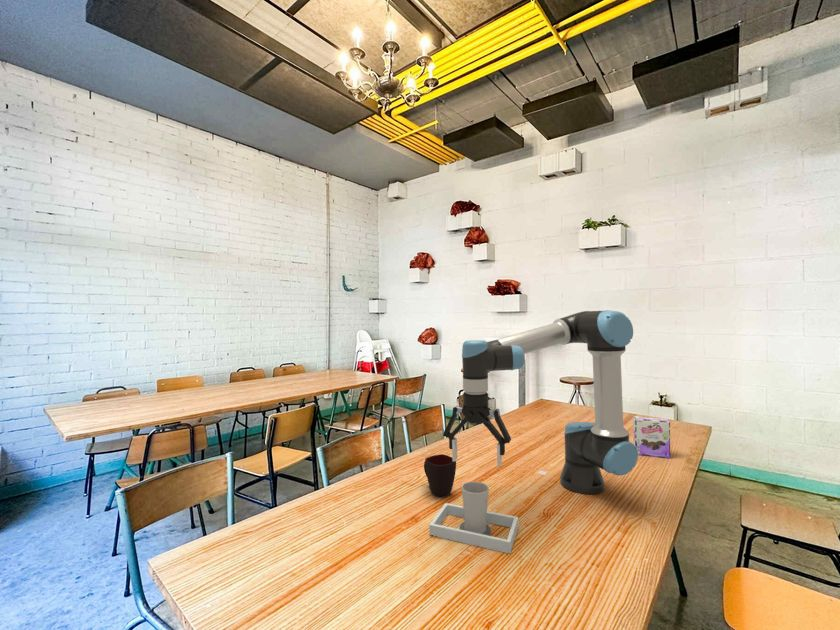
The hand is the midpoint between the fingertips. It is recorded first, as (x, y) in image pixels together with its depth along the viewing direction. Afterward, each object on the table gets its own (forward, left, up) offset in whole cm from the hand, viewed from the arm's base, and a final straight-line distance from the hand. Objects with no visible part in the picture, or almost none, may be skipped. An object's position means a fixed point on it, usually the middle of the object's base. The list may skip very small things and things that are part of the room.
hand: (476, 462), depth 116 cm
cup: (0, +2, -19) cm, 19 cm away
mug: (+19, -17, -19) cm, 32 cm away
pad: (0, +2, -19) cm, 19 cm away
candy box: (-58, -88, -19) cm, 107 cm away
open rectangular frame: (0, +3, -19) cm, 19 cm away
